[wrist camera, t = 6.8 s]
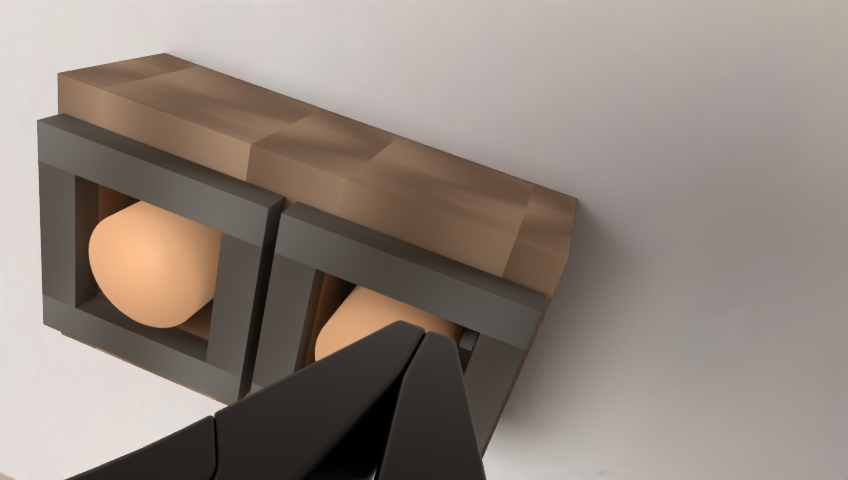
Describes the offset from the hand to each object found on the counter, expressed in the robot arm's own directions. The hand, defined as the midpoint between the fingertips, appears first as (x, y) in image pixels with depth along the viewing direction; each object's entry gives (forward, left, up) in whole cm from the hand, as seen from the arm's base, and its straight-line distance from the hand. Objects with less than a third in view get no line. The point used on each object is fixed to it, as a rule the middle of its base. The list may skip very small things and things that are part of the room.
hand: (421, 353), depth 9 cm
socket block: (+6, +7, -13) cm, 16 cm away
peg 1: (+10, +7, -13) cm, 18 cm away
